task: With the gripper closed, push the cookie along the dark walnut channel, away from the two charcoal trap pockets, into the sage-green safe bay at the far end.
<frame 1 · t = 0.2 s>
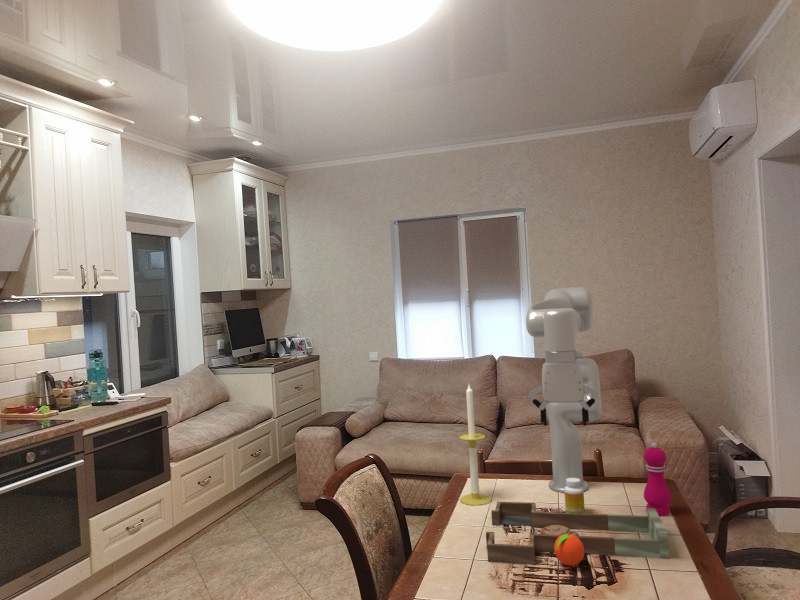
hand: (564, 424, 143), 31 cm above the table, tool pointing down, fingers open, 9 cm apart
clementine: (568, 565, 133), on the table
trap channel: (574, 540, 146), on the table
cookie: (559, 541, 147), resting in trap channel
supplement bottle: (575, 513, 164), on the table
candle: (475, 500, 179), on the table
pepper mill: (658, 512, 161), on the table
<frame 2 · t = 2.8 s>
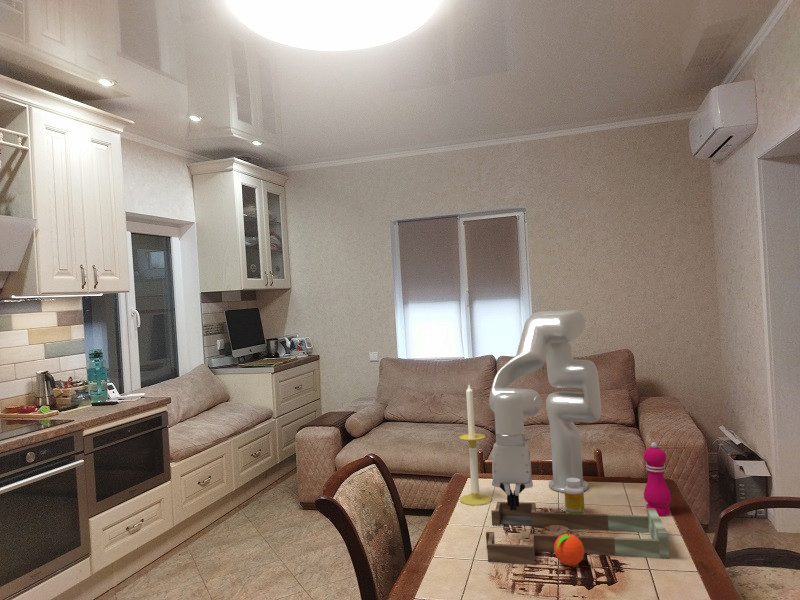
hand: (513, 508, 149), 8 cm above the table, tool pointing down, fingers closed
nothing on the table moved.
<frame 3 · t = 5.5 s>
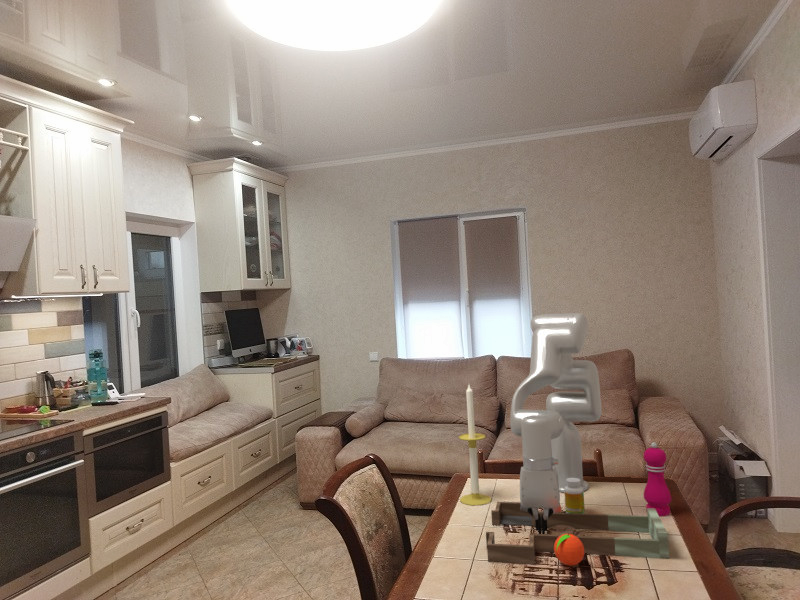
hand: (541, 533, 148), 1 cm above the table, tool pointing down, fingers closed
cookie: (565, 541, 146), resting in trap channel
everything else where it was.
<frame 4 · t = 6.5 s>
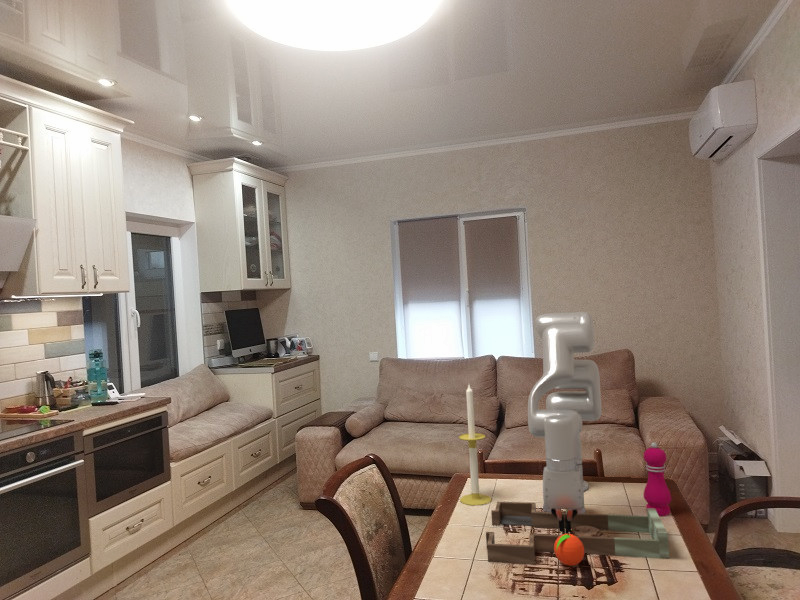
hand: (565, 534, 146), 1 cm above the table, tool pointing down, fingers closed
cookie: (588, 542, 145), resting in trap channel, touching gripper
everything else where it was.
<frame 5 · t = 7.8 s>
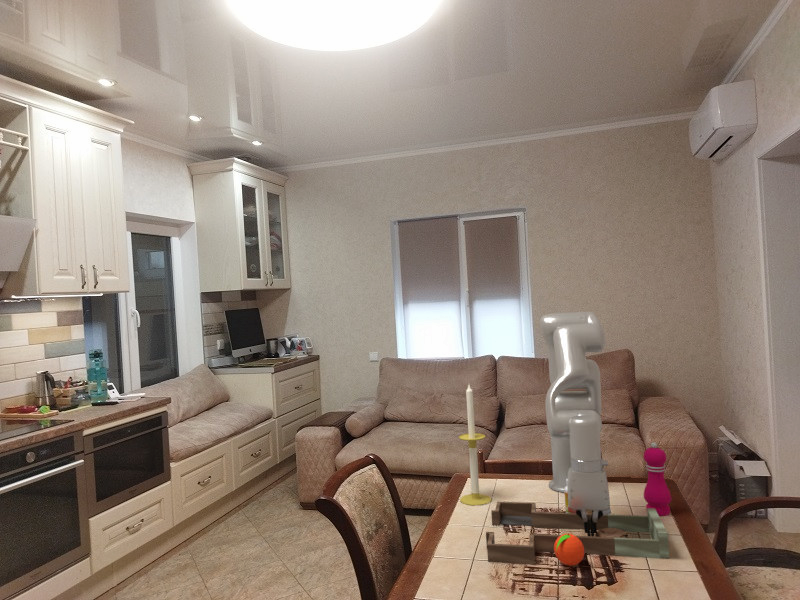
hand: (590, 535, 145), 1 cm above the table, tool pointing down, fingers closed
cookie: (614, 544, 143), resting in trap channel, touching gripper
everything else where it was.
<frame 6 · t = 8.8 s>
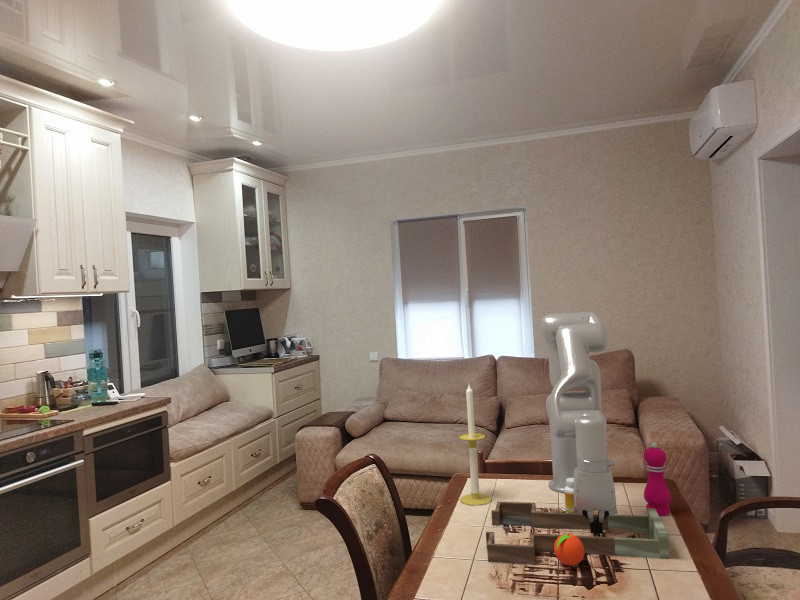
hand: (596, 535, 145), 1 cm above the table, tool pointing down, fingers closed
cookie: (620, 545, 142), resting in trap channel
everything else where it was.
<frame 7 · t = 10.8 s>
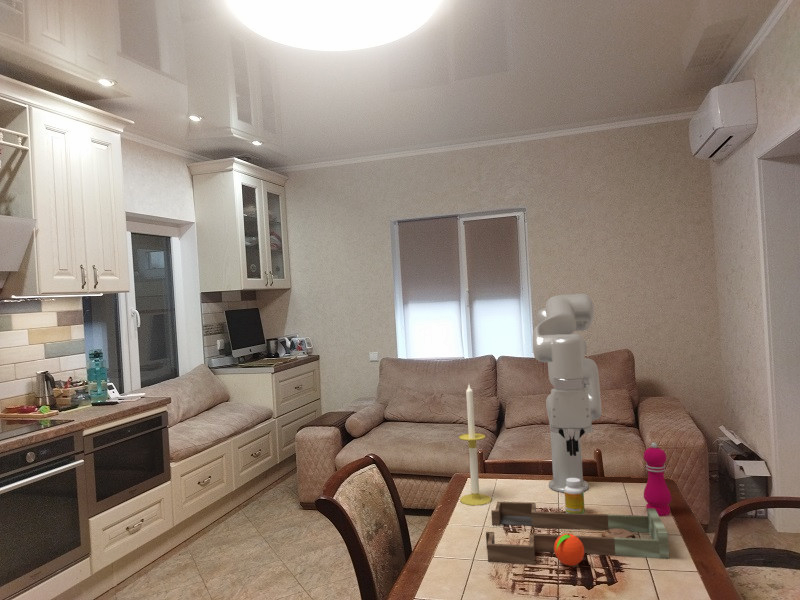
hand: (572, 454, 147), 22 cm above the table, tool pointing down, fingers closed
nothing on the table moved.
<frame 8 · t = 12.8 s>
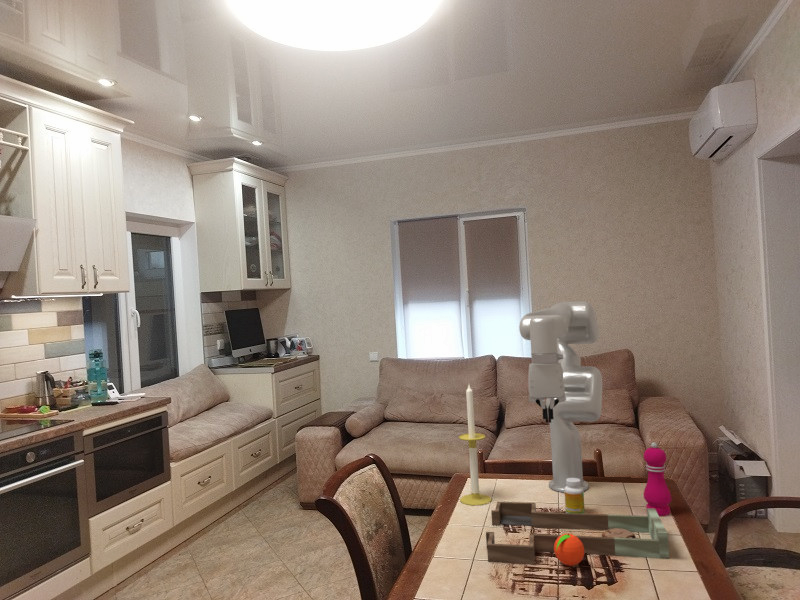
hand: (548, 421, 164), 27 cm above the table, tool pointing down, fingers closed
nothing on the table moved.
at the end: cookie inside the target area (2.4 cm from its centre), resting in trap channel; cookie tilted 0° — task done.
